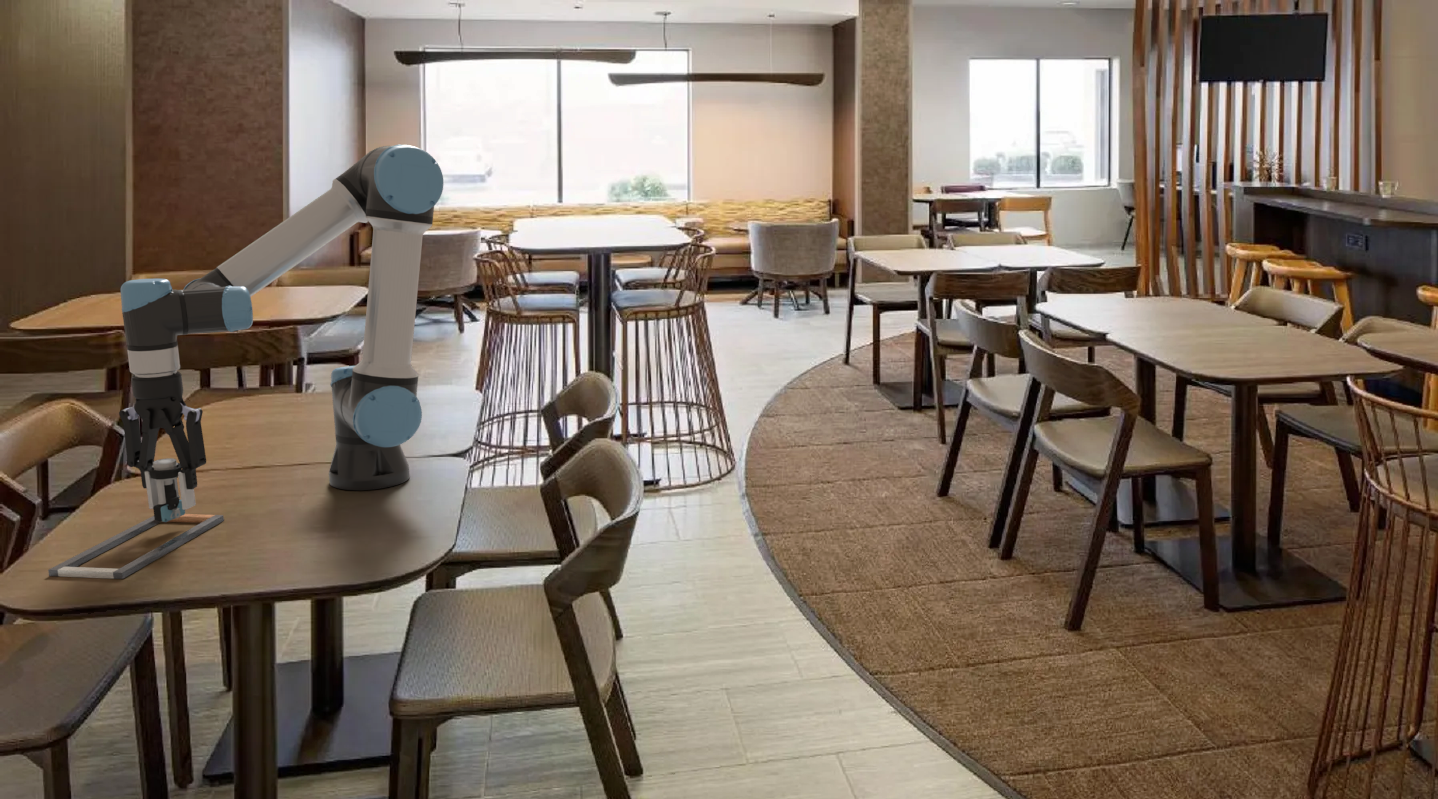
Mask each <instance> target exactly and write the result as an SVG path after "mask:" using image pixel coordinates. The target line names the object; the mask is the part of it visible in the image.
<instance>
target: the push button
mask: <svg viewBox="0 0 1438 799" xmlns="http://www.w3.org/2000/svg"><path fill="white" fill-rule="evenodd" d="M180 470H182V467H181V465H180V462H177V459H176V458H168V457H167V458H160V459H156V460H154V462H153V466H151V467H149V468H148V472H150V478H152V479H155V480H156V482H157V490H158V498H159V502H158V505H155V506H154V507H153V509H152V510H153V516H154V518H155V521H161V522H160V523H167V521H170V520H172V519H175V518H179V517H180V516H182V515H184V514H186V510H183V509H182V501H181V495H179V494H180V492H179V486H178V484H179V483H178V479H179V477H178V472H180Z"/></svg>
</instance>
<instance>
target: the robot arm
mask: <svg viewBox="0 0 1438 799" xmlns="http://www.w3.org/2000/svg"><path fill="white" fill-rule="evenodd" d="M443 190H444V176H443V171H442V169H441V167H440V165H439V164H438V161H437V160H436V159H435V158H434V157H433V156H432V155H431V154H430V153H428V151H425V150H424V149H422V148H420V147H417V146H414V145H411V144H401V143H400V144H395V145H383V146H379V147H376V148H374V149H372V150H370V151H369V152H368V153H366V154H365V155H364V156H363V157H361V158H360V159H359V160H358V161H357V162H355V163H354V164H353V165H352V166H350V167H349V168H348V169H347V170H345V171H344V172H342V173H341V174H340V175H339V176H337V177H336V178H334V179H333V180H332V184H331V188H330V189H329V190H327V191H325V192H324V193H323V194H321V195H320V196H318V197H317V198H315V199H314V200H313V201H311V202H309V203H308V204H307V205H305V206H303V207H302V208H301V209H299V210H298V211H296V212H295V213H293V214H292V215H291V216H289V217H288V218H286V219H284V220H283V221H281V222H280V223H278V225H276V226H275V227H273V228H271V229H270V230H269V231H268V232H266V233H264V234H263V235H262V236H260V237H259V238H257V239H255V240H254V241H253V242H252V243H250V244H248V245H247V246H246V247H244V248H242V249H241V250H240V251H238V252H237V253H236V254H234V255H233V256H231V257H229V258H228V259H226V260H225V261H223V262H222V263H220V264H219V265H217V266H216V268H214V269H213V270H211V271H209V272H208V273H207V274H205V275H203V276H202V277H201V278H197V279H193V280H192V281H190V282H188V283H187V284H185V286H184V288H183V289H173V286H172V285H171V281H170V280H169V279H166V278H139V279H132V280H131V279H130V280H127V281H125V282H124V283H123V284H121V286H120V299H121V300H120V301H121V314H122V320H123V328H124V334H125V340H126V341H125V342H126V348H127V350H126V351H127V357H128V366H129V372H130V373H131V374H133V375H132V377H131V378H130V380H131V382H130V383H131V388H132V390H131V391H132V396H133V397H134V399H135V402H134V406H130V407H126V408H124V409H122V410H119V412H118V415H119V417H120V420H121V421H122V422H121V423H122V424H123V430H124V431H123V432H124V441H125V450H126V452H125V453H126V461H127V465H128V467H129V468H136V469H138V470H139V471H140V478H141V486H142V487H143V489H146V494H147V501H148V502H147V504H148V509H151V510H153V507H154V506H155V505H158V502H159V498H158V490H157V482H156V480H155V479H152V478H150V472H148V468H149V467H151V466H153V462H154V461H155V456H156V448H157V443H158V442H157V441H158V435H159V431H160V429H163V430H164V431H165V434H166V435H168V436H169V439H170V442H171V444H172V446H173V449H174V452H175V454H176V457H177V459H178V463H180V465H181V467H182V470H180V472H178V484H179V491H180V492H179V494H180V500H181V501H182V509H183V510H185V511H187V510H188V509H191V508H193V507H195V506H196V505H197V504H196V503H197V502H196V496H195V489H196V488H197V487H198V479H197V468H200V467H202V466H204V465H206V464H207V456H206V449H205V448H206V447H205V443H204V442H205V441H204V436H203V428H202V422H201V421H202V417H203V409H202V408H200V407H198V408H192V407H190V406H187V404H186V402H185V401H184V398H183V396H184V395H183V394H184V385H183V377H182V373H181V372H180V371H179V370H180V369H181V363H180V353H179V344H178V336H187V335H195V334H208V333H209V334H210V333H211V334H212V333H221V332H222V333H223V332H229V333H234V332H235V331H244V330H248V329H250V328H251V327H252V325H253V323H254V311H253V303H252V298H251V297H253V296H254V295H255V294H257V293H259V292H260V291H262V290H263V289H264V288H266V287H268V285H270V284H272V282H274V281H275V280H277V279H278V278H280V277H281V276H282V275H284V274H286V273H287V272H288V271H290V270H291V269H293V268H294V267H296V266H297V265H299V264H300V263H301V262H303V261H304V260H306V259H308V258H309V257H310V256H311V255H313V254H314V253H316V252H317V251H318V250H320V249H321V248H323V247H324V246H325V245H327V244H328V243H330V242H331V241H333V240H335V239H336V238H338V237H339V236H340V235H342V234H343V233H344V232H346V231H347V230H349V229H350V228H352V227H353V226H354V225H355V224H357V223H365V224H367V223H369V224H370V225H371V227H372V229H373V231H372V240H371V241H372V242H371V243H372V244H371V253H370V254H371V255H370V266H369V277H368V278H369V279H368V289H367V302H366V312H365V313H366V314H365V325H364V336H363V346H362V357H361V358H362V359H361V361H360V362H358V363H357V364H356V365H347V366H340V367H336V368H334V369H333V370H332V371H331V374H330V376H331V377H330V378H331V379H330V380H331V381H330V388H331V395H332V396H331V397H332V408H333V420H334V434H335V447H334V451H333V456H332V460H331V463H330V467H329V471H328V478H329V481H328V482H329V485H330V487H333V488H336V489H339V490H347V491H371V490H379V489H385V488H391V487H394V486H397V485H400V484H403V483H405V482H406V481H408V480H409V479H410V477H411V474H410V466H409V463H408V461H407V458H406V455H405V452H404V450H403V448H402V446H401V445H403V444H405V443H406V442H408V441H409V440H410V439H411V438H412V437H413V436H415V434H416V433H417V431H418V430H419V428H420V426H421V423H422V417H423V410H422V407H421V402H420V400H419V399H418V397H417V395H418V385H419V384H418V383H419V372H418V371H417V370H416V369H415V368H414V366H412V357H413V356H412V355H413V346H414V345H413V344H414V334H415V326H416V325H415V324H416V322H415V321H416V313H417V302H418V301H417V300H418V290H419V281H420V280H419V279H420V268H421V260H422V259H421V258H422V247H423V246H422V245H423V238H424V237H423V236H424V234H425V233H426V232H427V231H428V230H429V229H430V228H432V227H433V223H434V220H433V219H434V213H435V212H434V211H435V206H436V205H437V203H438V202H439V200H440V199H441V197H442V195H443ZM183 415H184V417H183ZM182 417H183V419H184V421H185V425H184V422H183V419H182ZM139 418H140V419H141V420H142V424H141V426H140V420H139ZM185 428H186V430H185ZM185 431H186V433H185ZM141 433H142V434H141ZM141 435H142V437H141Z"/></svg>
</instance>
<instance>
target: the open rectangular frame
mask: <svg viewBox="0 0 1438 799" xmlns="http://www.w3.org/2000/svg"><path fill="white" fill-rule="evenodd" d="M224 521H225V518H224V515H223V514H202V513H200V514H199V513H198V514H195V513H193V514H192V513H185V514H184V515H182V516H180V517H179V518H175V519H172V520H170V521H167V522H169V523H171V522H173V523H175V522H176V523H196V524H197V523H198V524H197V525H194V526H192V528H189V529H188V530H186V531H184V532H182V533H181V534H179V535H177V536H175V537H173V538H172V539H169V540H168V541H165V543H163V544H161V545H159V546H157V547H156V548H154V549H152V550H150V551H148V552H146V553H144V554H143V555H141V556H139V557H138V558H136V559H134V560H132V561H131V562H129V563H127V564H125V565H124V566H122V567H120V568H110V567H109V568H108V567H87V566H86V567H84V566H81V565H82V564H84V563H87V562H88V561H90V560H92V559H94V558H96V557H98V556H100V555H101V554H103V553H106V552H107V551H109V550H111V549H113V548H115V547H117V546H118V545H120V544H122V543H124V542H126V541H128V540H130V539H132V538H134V537H136V536H138V535H140V534H141V533H144V532H145V531H147V530H149V529H151V528H153V527H155V526H157V525H158V524H160V523H162V522H161V521H155V518H154V515H152V516H150V517H149V518H146V519H145V520H143V521H141V522H139V523H137V524H135V525H133V526H131V527H128V528H127V529H125V530H123V531H121V532H119V533H117V534H116V535H113V536H111V537H109V538H108V539H105V540H104V541H101V542H100V543H98V544H96V545H93V546H92V547H91V548H88V549H86V550H84V551H82V552H80V553H78V554H77V555H75V556H73V557H70V558H69V559H66V560H65V561H62V562H61V563H58V564H57V565H55V566H53V567H51V568H49V569H48V570H47V571H48V576H49V577H64V578H65V577H66V578H67V577H69V578H70V577H71V578H91V579H114V580H117V579H119V580H124V579H125V578H127V577H129V576H130V575H132V574H134V573H136V572H137V571H139V570H142V569H143V568H145V567H146V566H148V565H149V564H151V563H153V562H154V561H157V560H158V559H160V558H162V557H164V556H166V555H167V554H170V552H172V551H174V550H176V549H177V548H179V547H181V546H183V545H184V544H186V543H188V542H189V541H191V540H194V539H195V538H197V537H198V536H199V535H201V534H204V533H205V532H207V531H208V530H210V529H212V528H214V527H216V526H217V525H219V524H221V523H222V522H224ZM167 522H166V523H167ZM79 566H80V567H79Z"/></svg>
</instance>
